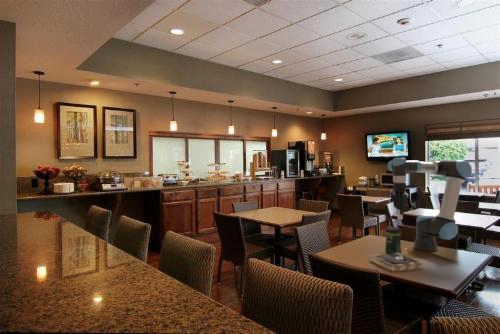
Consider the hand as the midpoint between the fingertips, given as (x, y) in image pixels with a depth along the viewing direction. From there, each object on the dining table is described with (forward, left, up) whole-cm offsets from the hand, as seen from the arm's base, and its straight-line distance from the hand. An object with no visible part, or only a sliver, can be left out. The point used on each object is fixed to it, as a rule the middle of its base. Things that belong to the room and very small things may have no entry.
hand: (400, 219), depth 204 cm
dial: (+9, +7, -23) cm, 26 cm away
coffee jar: (-3, -10, -26) cm, 28 cm away
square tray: (+9, +7, -26) cm, 28 cm away
